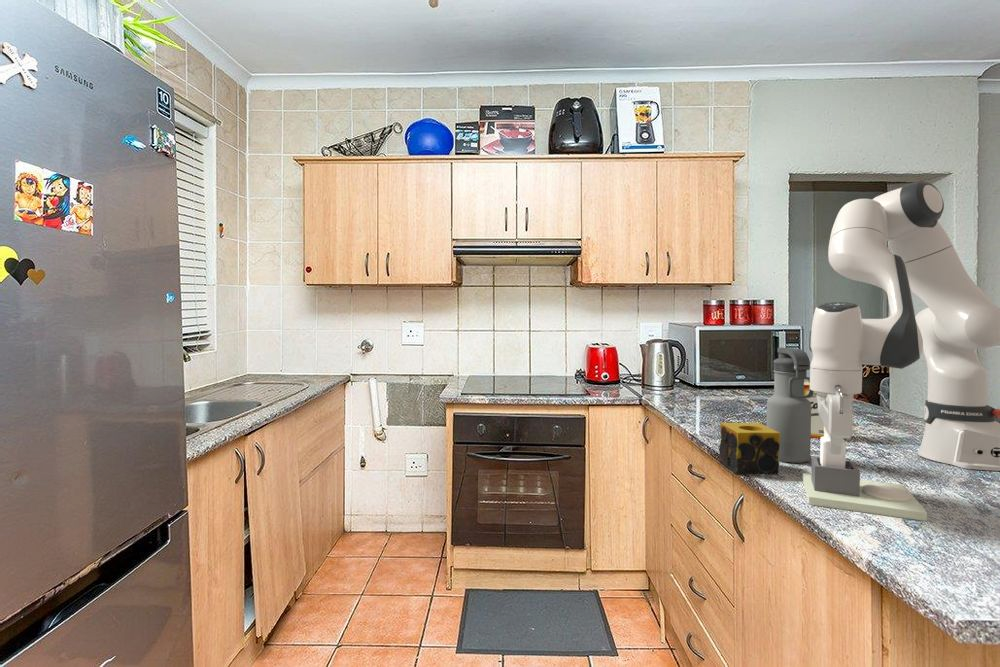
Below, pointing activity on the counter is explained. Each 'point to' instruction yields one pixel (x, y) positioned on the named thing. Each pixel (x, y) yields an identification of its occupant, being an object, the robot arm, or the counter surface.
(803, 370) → the water bottle
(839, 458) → the salt shaker
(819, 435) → the baking soda box
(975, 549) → the counter surface
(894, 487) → the cream holder tray
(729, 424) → the candle
